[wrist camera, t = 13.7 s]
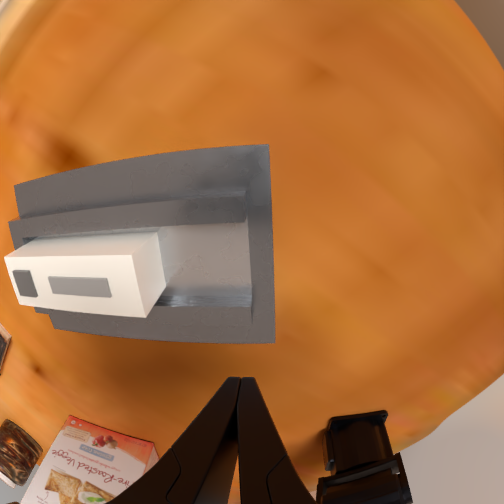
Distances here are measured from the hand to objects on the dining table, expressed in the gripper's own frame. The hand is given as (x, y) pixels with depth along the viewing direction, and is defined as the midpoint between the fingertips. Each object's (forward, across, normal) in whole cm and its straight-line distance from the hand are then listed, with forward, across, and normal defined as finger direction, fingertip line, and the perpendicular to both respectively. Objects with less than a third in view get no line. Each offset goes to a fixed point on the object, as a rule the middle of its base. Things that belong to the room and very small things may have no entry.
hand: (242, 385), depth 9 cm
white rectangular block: (+11, +12, 0) cm, 16 cm away
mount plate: (+12, +10, 0) cm, 15 cm away
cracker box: (+12, +22, +28) cm, 38 cm away
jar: (+12, +57, +45) cm, 74 cm away
